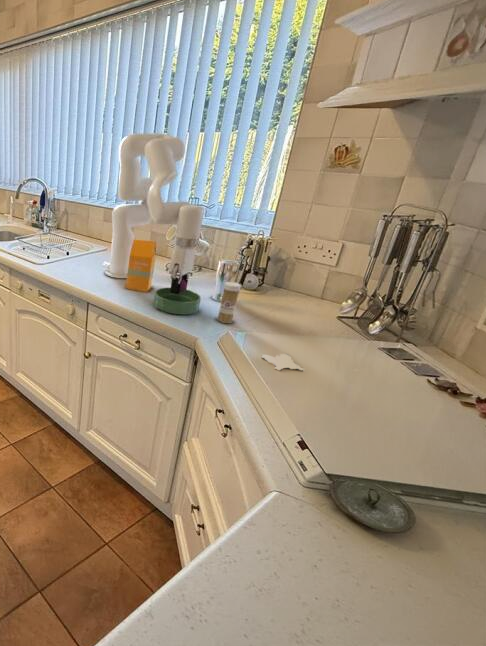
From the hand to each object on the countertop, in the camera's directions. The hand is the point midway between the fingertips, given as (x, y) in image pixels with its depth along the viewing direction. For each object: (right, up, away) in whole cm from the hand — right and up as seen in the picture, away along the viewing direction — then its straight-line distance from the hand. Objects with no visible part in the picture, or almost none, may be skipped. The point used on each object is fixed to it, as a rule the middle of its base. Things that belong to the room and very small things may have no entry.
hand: (178, 290), depth 142 cm
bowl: (0, -6, +3) cm, 6 cm away
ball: (0, 0, 0) cm, 0 cm away
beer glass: (+21, -3, +9) cm, 23 cm away
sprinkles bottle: (+12, -11, -9) cm, 18 cm away
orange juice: (-6, +2, +22) cm, 23 cm away
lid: (-3, -39, -77) cm, 86 cm away
